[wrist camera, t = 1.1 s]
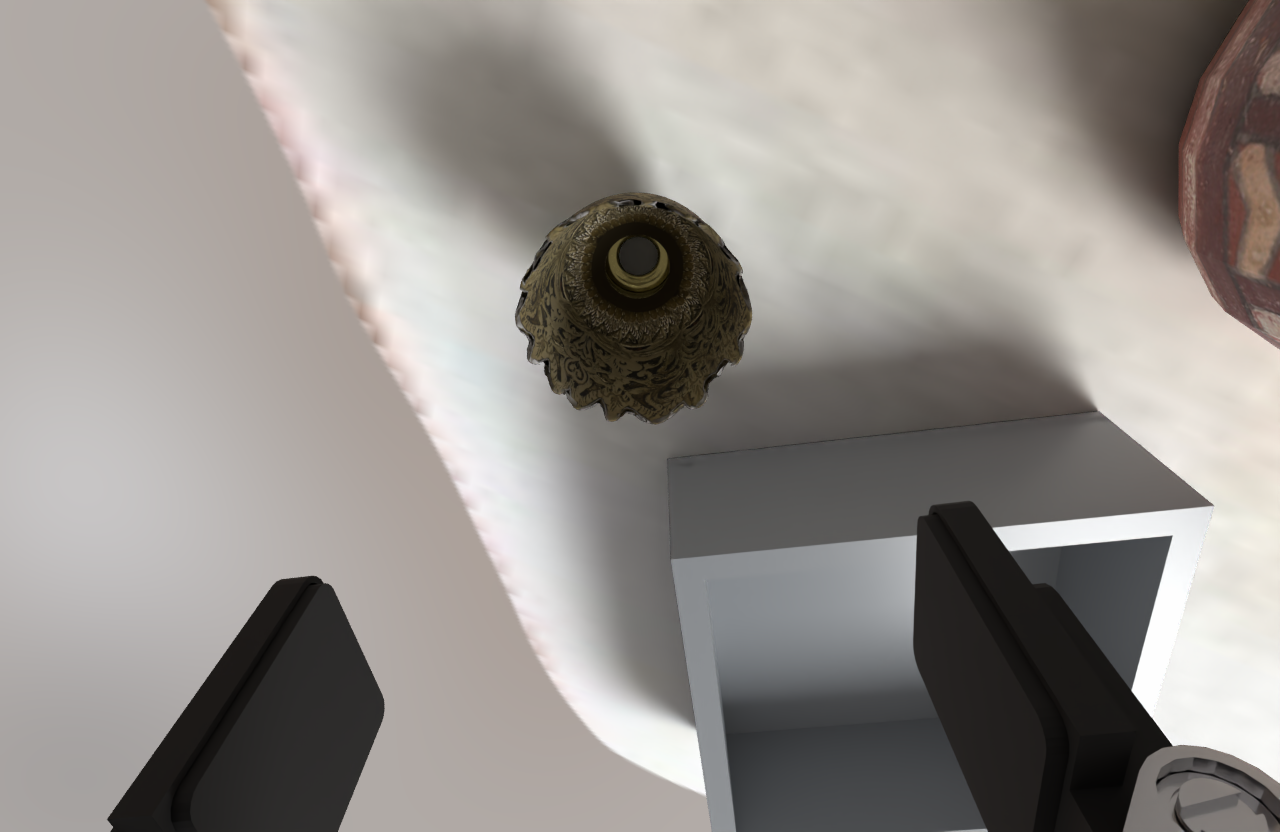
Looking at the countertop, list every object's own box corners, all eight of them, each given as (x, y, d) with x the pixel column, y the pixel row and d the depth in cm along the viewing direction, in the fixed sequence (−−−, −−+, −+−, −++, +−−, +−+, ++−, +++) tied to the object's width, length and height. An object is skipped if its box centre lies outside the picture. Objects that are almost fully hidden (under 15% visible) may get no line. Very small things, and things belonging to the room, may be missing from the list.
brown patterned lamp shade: (621, 120, 27) (609, 147, 20) (764, 238, 29) (800, 301, 22) (515, 271, 30) (472, 342, 23) (653, 369, 32) (653, 462, 25)
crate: (667, 458, 34) (670, 559, 27) (1099, 411, 32) (1214, 505, 26) (706, 734, 43) (716, 860, 36) (1043, 708, 41) (1118, 834, 35)
